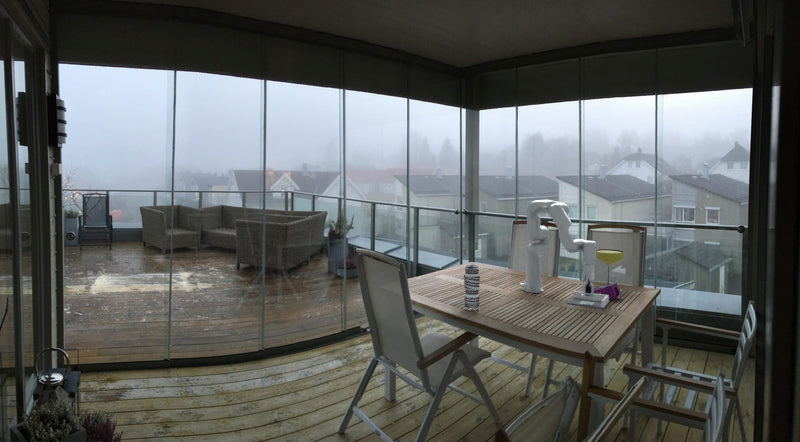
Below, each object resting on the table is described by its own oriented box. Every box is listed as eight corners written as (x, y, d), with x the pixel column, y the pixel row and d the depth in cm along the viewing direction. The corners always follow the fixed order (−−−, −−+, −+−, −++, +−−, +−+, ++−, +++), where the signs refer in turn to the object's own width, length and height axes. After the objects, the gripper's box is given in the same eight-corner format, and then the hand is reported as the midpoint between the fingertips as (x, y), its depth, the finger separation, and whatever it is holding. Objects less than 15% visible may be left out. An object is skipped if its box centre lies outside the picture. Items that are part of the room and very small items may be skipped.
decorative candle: (467, 311, 257) (467, 267, 255) (461, 307, 266) (461, 264, 264) (482, 310, 260) (482, 266, 258) (475, 305, 269) (475, 263, 267)
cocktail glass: (624, 287, 311) (625, 250, 309) (621, 292, 296) (622, 254, 294) (596, 284, 321) (596, 248, 319) (591, 289, 306) (592, 252, 304)
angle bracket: (583, 294, 273) (583, 282, 273) (594, 295, 270) (594, 283, 269) (580, 296, 269) (580, 284, 268) (591, 297, 265) (591, 285, 264)
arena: (566, 303, 271) (566, 296, 271) (573, 298, 283) (573, 290, 283) (603, 308, 260) (603, 300, 259) (608, 302, 272) (608, 295, 271)
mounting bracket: (589, 306, 286) (616, 298, 274) (583, 293, 288) (610, 285, 276) (595, 303, 293) (622, 295, 281) (589, 291, 295) (616, 282, 283)
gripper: (585, 259, 278) (585, 289, 279) (579, 263, 266) (578, 294, 267) (598, 260, 274) (598, 291, 275) (592, 264, 261) (592, 296, 263)
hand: (588, 292), depth 271 cm, fingers closed on angle bracket, 1 cm apart
